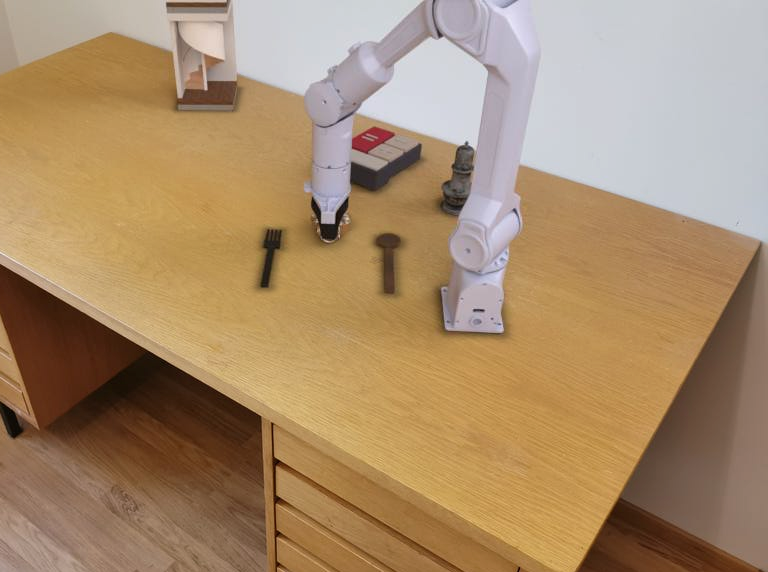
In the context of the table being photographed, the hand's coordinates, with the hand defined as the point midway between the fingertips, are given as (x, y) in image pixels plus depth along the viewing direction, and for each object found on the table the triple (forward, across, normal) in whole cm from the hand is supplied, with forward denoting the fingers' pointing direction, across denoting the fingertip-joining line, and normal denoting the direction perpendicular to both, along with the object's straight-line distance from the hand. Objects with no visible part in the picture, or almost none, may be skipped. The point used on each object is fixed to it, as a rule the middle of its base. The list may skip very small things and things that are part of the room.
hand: (328, 237), depth 117 cm
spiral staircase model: (+2, -52, -28) cm, 59 cm away
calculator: (+2, -26, +7) cm, 27 cm away
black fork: (+2, +4, -9) cm, 10 cm away
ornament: (+2, -4, 0) cm, 4 cm away
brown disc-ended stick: (+1, +4, +10) cm, 10 cm away
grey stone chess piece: (+2, -13, +21) cm, 25 cm away
